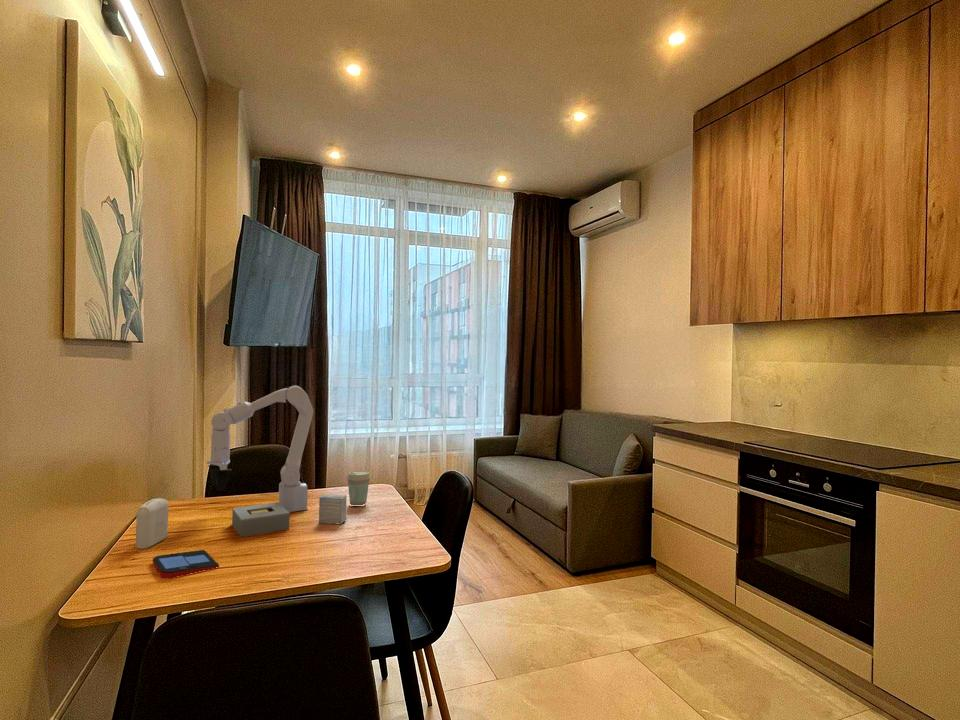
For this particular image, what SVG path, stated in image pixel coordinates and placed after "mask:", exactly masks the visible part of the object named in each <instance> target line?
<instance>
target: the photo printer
mask: <svg viewBox="0 0 960 720" xmlns="http://www.w3.org/2000/svg"><path fill="white" fill-rule="evenodd" d="M135 520H136V521H135V523H136V524H135V548H136V549H140V550H141V549H142V550H143V549H147V548H150V547H153V546H154V545H156V544H159V543H160V542H161V541H163V540H166V538H167V537H168V534H169V533H168V532H169V531H168V529H169V528H168V527H169V502H168V500H167V499H165V498H159V497H158V498H153V499H149V500H148V501H146V502H145V503H143V504H142V505H141V506H140V507H139V508H138V509H137V512H136V519H135Z"/></svg>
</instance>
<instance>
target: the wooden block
mask: <svg viewBox="0 0 960 720" xmlns="http://www.w3.org/2000/svg"><path fill="white" fill-rule="evenodd" d="M264 512H269V511H268V510H267V509H265V510H258V511H251V512H250V514H257V513H264Z"/></svg>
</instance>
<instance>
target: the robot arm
mask: <svg viewBox="0 0 960 720" xmlns="http://www.w3.org/2000/svg"><path fill="white" fill-rule="evenodd" d="M286 400H287V401H286ZM287 402H289V404H291V405H292V406H293V407H295V408H296V410H297V412H298V413H299V414H298V418H297V420H296V424H295V429H294V432H293V437H292V439H291V444H290V447H289V452H288V455H287V457H286V459H285V460H286V461H285V463H284V465H283V466H281V469H280V472H279V473H280V480H281V481H280V482H279V484H278V503H279V504H280V505H281V506H283V507H284V508H285V509H286V510H287V511H288V512H289V513H293V512H294V513H295V512H300V511H306V510H308V500H309V499H308V497H309V495H308V494H309V493H308V491H309V490H308V484H306V483H305V482H301V481H300V479H301V473H300V470H301V462H302V457H303V453H304V451H305V450H304V449H305V446H306V442H307V439H308V435H309V432H310V428H311V427H310V426H311V423H312V420H313V417H314V416H313V415H314V408H313V405H312V403H311V400H310V397H309V394H307V392H306V391H305V390H304V389H303V388H302V387H300V386H299V385H291V386H289V387H285V388H281V389H279V390H276V391H273V392H271V393H269V394H267V395H265V396H263V397H260V398H258V399H256V400H255V401H252V402H248V401H243V402H242V401H238V402H237V404H236V405H234V406H232V407H229V408H224V409H223V411H220V412H217V413H215V414H214V415H213V416H212V417H211V421H210V422H211V426H212V428H211V437H210V438H211V440H210V441H211V442H210V444H211V445H210V460H206V465H208V468H209V470H210V473H211V477H212V483H213V486H216V489H217V491H225V490H226V487H227V483H228V480H229V477H230V474H231V473H232V471H233V470H232V468H228V465H229V464H230V463H231V459H230V458H231V457H230V454H231V453H230V451H231V433H230V429H231V428H230V426H231V425H235V424H239V423H240V422H242V421H245V420H247V419H250V418H251V417H253V415H254V413H255V411H258V410H261V409H263V408H265V407H268V406H270V405H273V404H275V403H287Z"/></svg>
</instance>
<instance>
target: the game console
mask: <svg viewBox="0 0 960 720" xmlns="http://www.w3.org/2000/svg"><path fill="white" fill-rule="evenodd" d="M152 566H154V568H155V570H156V572H157V573H158V574H159V573H160V574H159V577H160V579H163V578H171V579H174V578H173V577H175V578H178V577H177V576H180V577H182V576H181V575H185V576H187V575H186V574H189V575H191V574H190V573H194V574H196V573H195V572H198V573H200V572H199V571H203V570H207V571H209V570H208V569H212V568H216V567H218V568H219V567H220V565H219V563H218V562H216V560H215V559H214V558H213V557H212V556H211V555H210V554H209V553H208V552H207V551H206V550H205V549H200V550H192V551H183V552H177V553H176V552H175V553H168V554H161V555H156V556H154V557H153V558H152ZM216 569H217V568H216ZM212 570H213V569H212ZM203 572H204V571H203Z"/></svg>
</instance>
